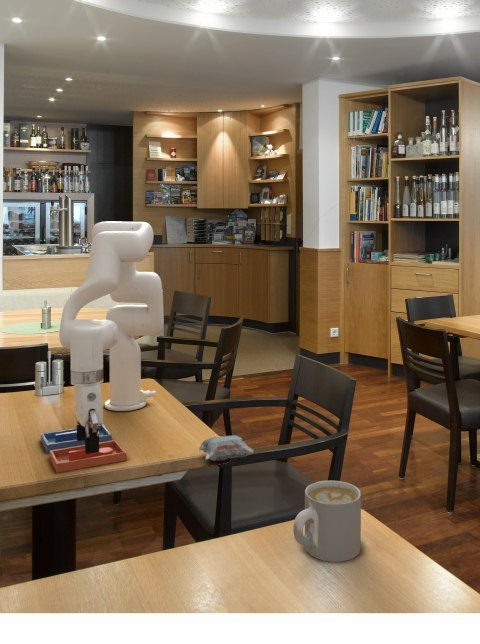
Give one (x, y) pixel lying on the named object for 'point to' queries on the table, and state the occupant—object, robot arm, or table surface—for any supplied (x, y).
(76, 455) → the red spoon
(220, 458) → the packaged food
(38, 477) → the table surface
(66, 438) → the blue spoon
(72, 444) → the blue tray
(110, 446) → the red tray
